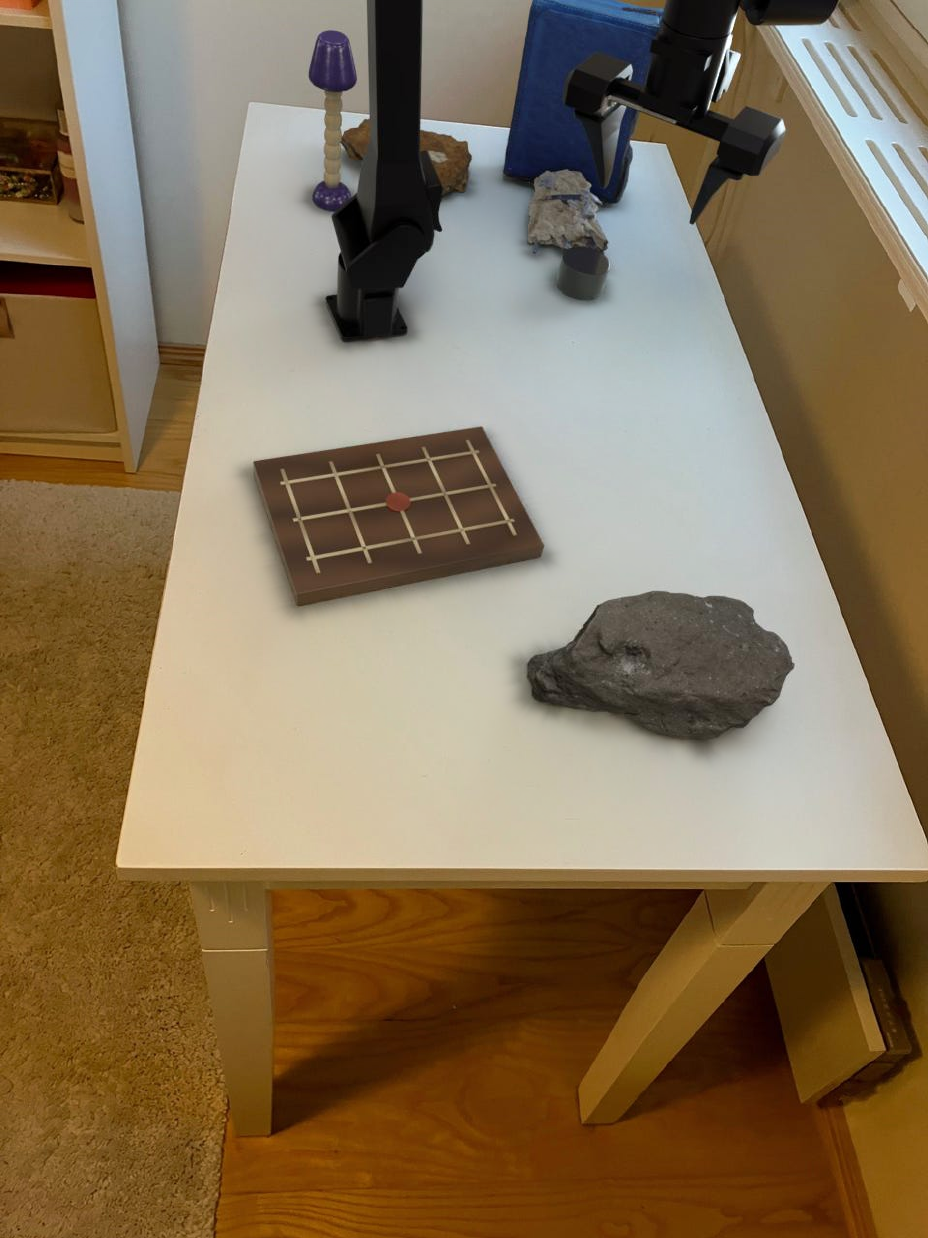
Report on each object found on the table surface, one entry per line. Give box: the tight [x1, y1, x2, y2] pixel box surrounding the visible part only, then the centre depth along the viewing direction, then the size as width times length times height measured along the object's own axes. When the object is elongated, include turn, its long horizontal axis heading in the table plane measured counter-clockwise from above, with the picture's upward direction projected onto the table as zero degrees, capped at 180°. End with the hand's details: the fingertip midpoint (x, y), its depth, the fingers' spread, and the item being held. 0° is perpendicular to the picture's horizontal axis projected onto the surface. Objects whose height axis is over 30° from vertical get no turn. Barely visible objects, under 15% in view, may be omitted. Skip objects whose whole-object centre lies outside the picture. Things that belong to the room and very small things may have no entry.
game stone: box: [555, 247, 611, 301], centre depth 99 cm, size 5×5×3 cm
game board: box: [252, 425, 545, 607], centre depth 77 cm, size 14×20×2 cm
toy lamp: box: [308, 29, 358, 212], centre depth 97 cm, size 5×5×17 cm
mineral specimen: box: [527, 169, 610, 255], centre depth 105 cm, size 15×8×4 cm, turn 0°
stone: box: [526, 590, 795, 740], centre depth 68 cm, size 18×9×10 cm
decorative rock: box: [340, 117, 473, 196], centre depth 108 cm, size 11×4×15 cm
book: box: [502, 0, 664, 205], centre depth 104 cm, size 14×5×20 cm, turn 77°
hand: (648, 204), depth 90 cm, fingers open, 9 cm apart
